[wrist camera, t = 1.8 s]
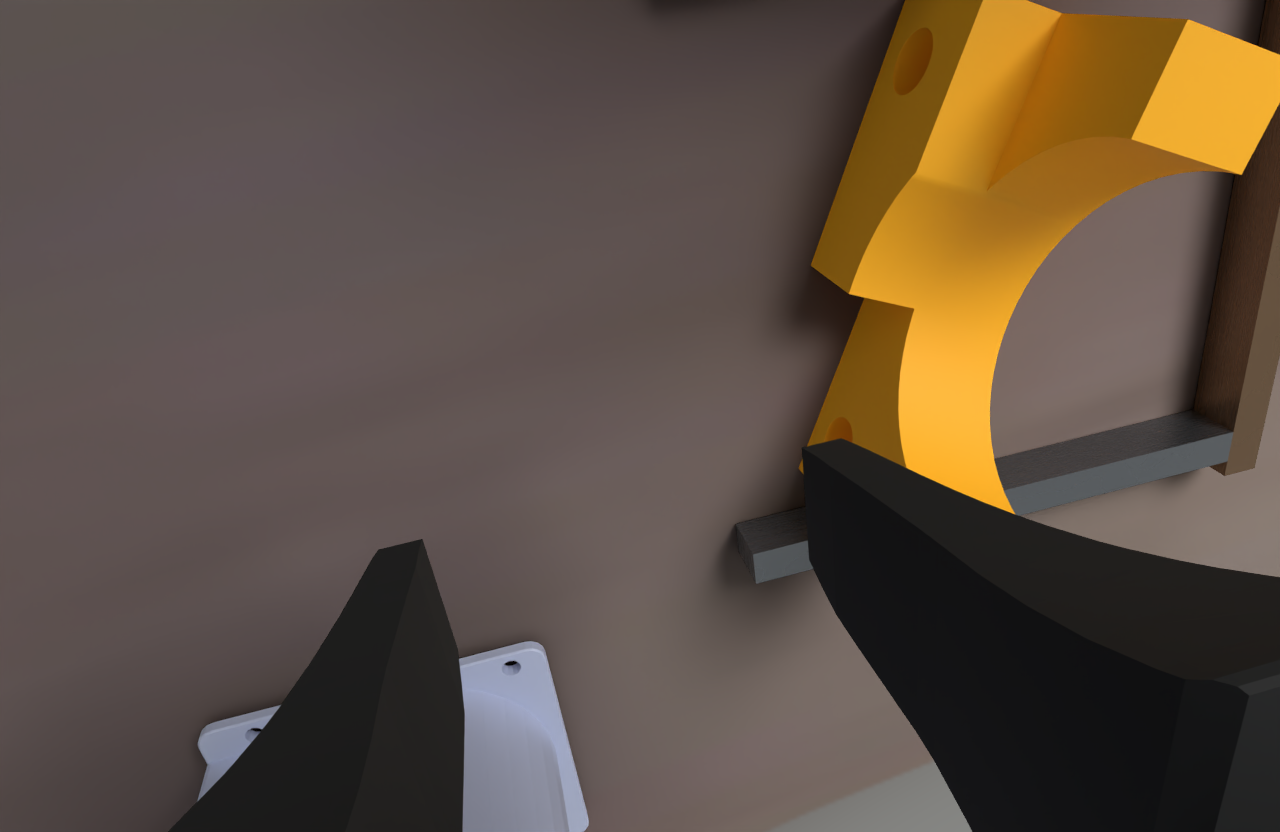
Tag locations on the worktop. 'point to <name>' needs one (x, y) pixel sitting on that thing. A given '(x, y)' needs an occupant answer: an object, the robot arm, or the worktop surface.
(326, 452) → the worktop surface
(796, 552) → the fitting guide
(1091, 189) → the pipe clamp
